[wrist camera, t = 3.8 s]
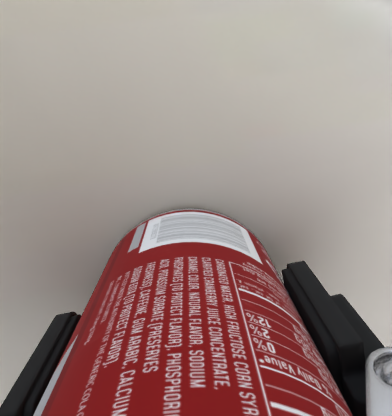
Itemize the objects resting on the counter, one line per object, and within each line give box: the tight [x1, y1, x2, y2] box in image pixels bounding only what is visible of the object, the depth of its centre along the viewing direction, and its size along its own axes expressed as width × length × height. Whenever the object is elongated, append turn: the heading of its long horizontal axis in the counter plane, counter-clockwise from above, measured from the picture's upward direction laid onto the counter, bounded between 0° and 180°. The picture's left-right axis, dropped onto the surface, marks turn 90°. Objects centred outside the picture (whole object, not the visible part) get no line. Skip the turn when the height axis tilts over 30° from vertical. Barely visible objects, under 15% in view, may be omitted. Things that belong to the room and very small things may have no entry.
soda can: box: [33, 209, 353, 416], centre depth 9 cm, size 7×7×12 cm
